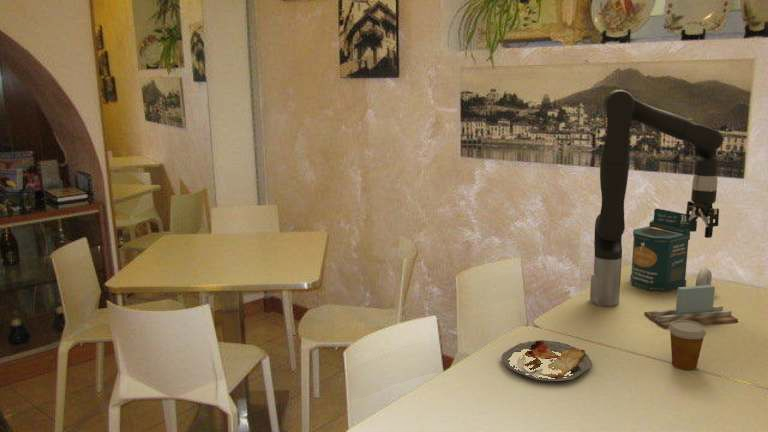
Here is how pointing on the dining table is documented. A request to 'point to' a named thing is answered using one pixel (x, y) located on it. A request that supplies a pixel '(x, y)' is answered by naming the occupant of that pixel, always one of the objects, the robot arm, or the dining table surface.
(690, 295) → the door panel
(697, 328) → the disposable coffee cup
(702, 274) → the beige flat disc
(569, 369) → the food plate
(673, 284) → the donation box
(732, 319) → the floor track
